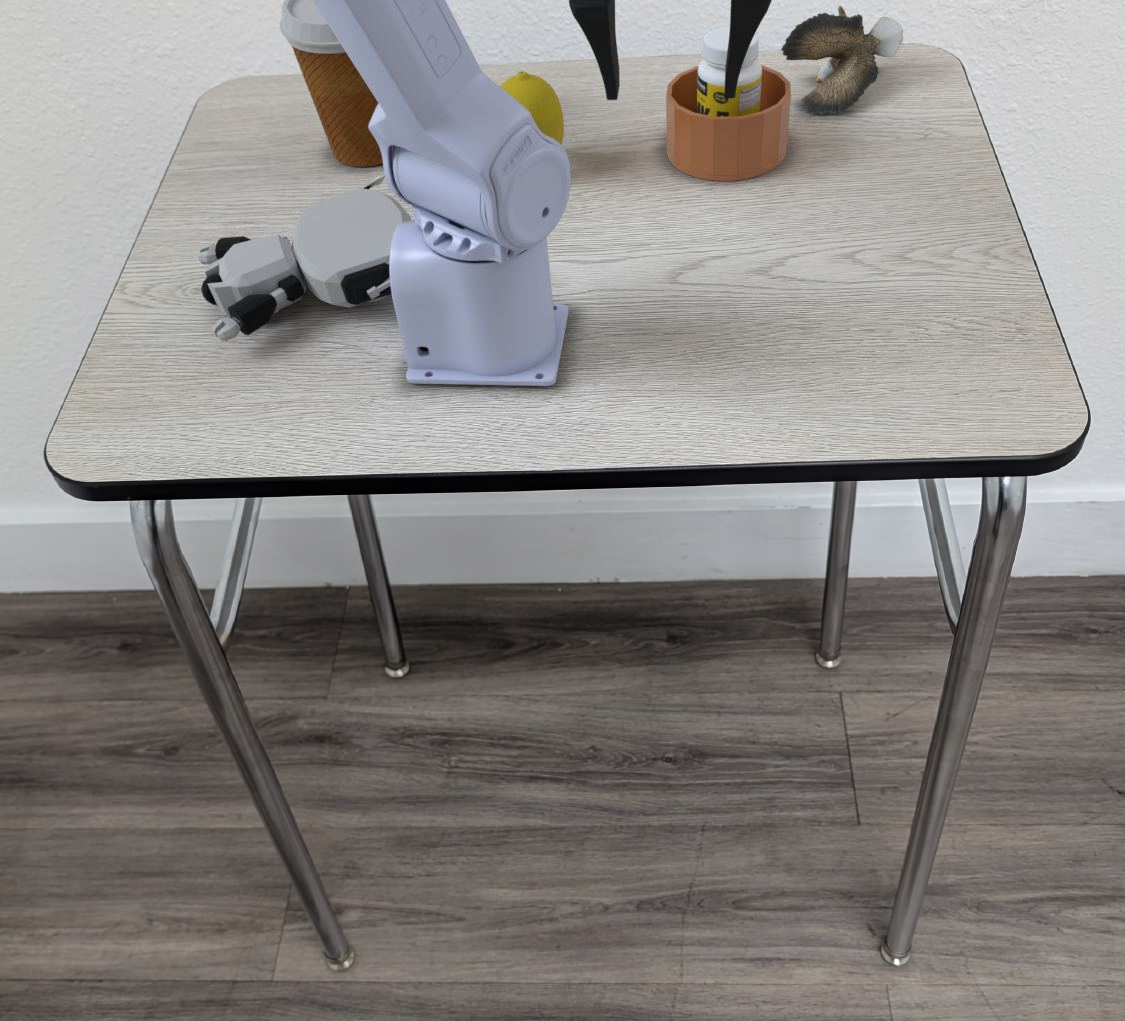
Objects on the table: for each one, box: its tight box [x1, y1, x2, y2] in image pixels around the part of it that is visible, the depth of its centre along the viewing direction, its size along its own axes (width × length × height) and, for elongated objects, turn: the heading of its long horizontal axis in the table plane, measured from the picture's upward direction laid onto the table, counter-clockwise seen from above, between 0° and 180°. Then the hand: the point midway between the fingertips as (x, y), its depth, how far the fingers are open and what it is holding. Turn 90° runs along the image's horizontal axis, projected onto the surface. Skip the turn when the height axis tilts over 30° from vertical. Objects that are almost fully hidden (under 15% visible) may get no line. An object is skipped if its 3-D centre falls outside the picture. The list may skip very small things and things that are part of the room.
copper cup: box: [665, 64, 792, 182], centre depth 85 cm, size 9×9×5 cm
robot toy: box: [197, 175, 412, 342], centre depth 76 cm, size 12×4×15 cm
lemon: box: [499, 70, 565, 145], centre depth 84 cm, size 6×6×8 cm
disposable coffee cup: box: [279, 0, 383, 168], centre depth 87 cm, size 10×10×12 cm
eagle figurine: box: [780, 5, 904, 115], centre depth 90 cm, size 8×7×9 cm
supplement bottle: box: [697, 26, 762, 117], centre depth 83 cm, size 5×5×8 cm
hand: (671, 92), depth 73 cm, fingers open, 7 cm apart
